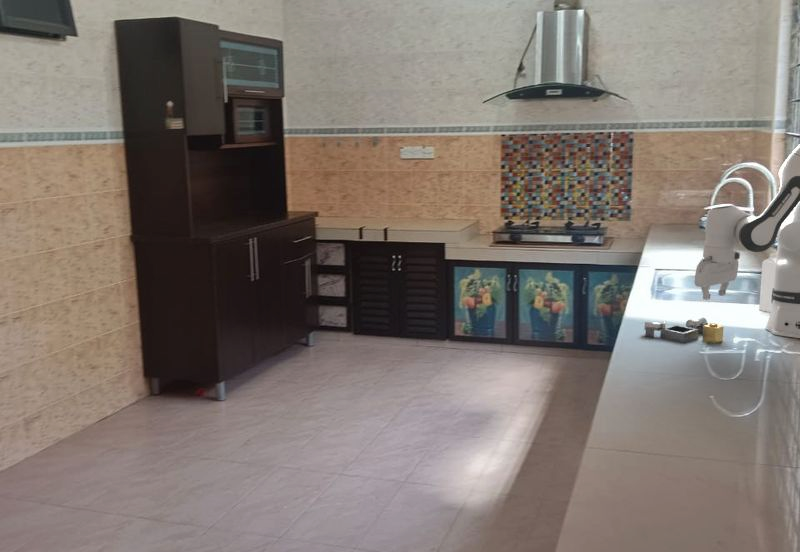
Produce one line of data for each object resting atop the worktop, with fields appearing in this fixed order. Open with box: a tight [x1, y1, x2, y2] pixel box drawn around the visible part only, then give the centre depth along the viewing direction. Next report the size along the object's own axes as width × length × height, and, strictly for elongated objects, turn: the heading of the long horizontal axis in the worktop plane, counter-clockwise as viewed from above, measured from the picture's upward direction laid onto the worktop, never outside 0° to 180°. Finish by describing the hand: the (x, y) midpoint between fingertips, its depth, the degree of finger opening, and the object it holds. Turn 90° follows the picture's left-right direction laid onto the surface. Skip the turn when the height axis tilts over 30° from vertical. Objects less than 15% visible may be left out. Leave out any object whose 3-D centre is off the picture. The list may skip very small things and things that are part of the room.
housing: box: [659, 324, 699, 344], centre depth 266 cm, size 8×8×3 cm
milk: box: [758, 252, 777, 313], centre depth 301 cm, size 6×6×22 cm
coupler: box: [701, 322, 724, 344], centre depth 262 cm, size 4×4×6 cm
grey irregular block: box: [685, 317, 709, 334], centre depth 273 cm, size 8×4×5 cm, turn 129°
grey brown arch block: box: [644, 321, 667, 338], centre depth 269 cm, size 6×4×5 cm, turn 74°
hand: (714, 297), depth 260 cm, fingers open, 8 cm apart
